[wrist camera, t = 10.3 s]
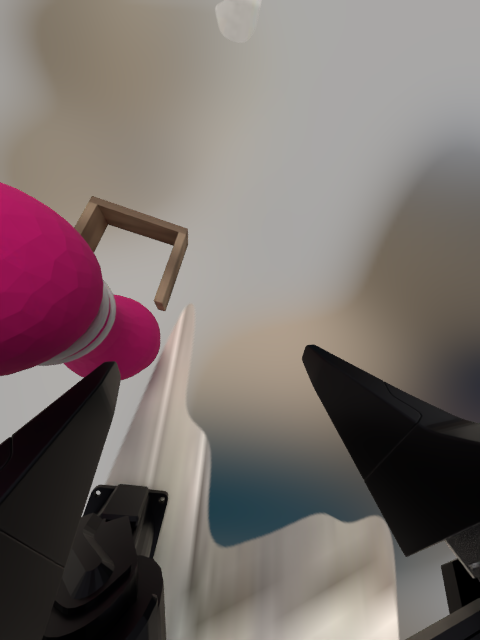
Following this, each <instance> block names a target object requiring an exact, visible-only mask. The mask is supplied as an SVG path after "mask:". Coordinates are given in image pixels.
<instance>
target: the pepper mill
mask: <svg viewBox="0 0 480 640" xmlns="http://www.w3.org/2000/svg"><path fill="white" fill-rule="evenodd" d="M159 348H160V329H159V326H158V323H157V321H156V319H155V317H154V316H153V315H152V313H151V312H150V311H149V310H148V309H147V308H145V307H144V306H143V305H141V304H140V303H139V302H137V301H135V300H133V299H130V298H126V297H123V296H119V295H113V293H112V291H111V290H110V288H109V286H108V285H107V284H106V283H105V281H104V280H103V279H102V274H101V268H100V265H99V263H98V261H97V258H96V256H95V255H94V253H93V251H92V250H91V248H90V247H89V245H88V243H87V242H86V241H85V240H84V238H83V237H82V236H81V235H80V233H79V232H78V231H77V230H76V229H74V228H73V227H72V226H71V225H70V224H69V223H68V222H67V221H66V220H65V219H64V218H62V217H61V216H60V215H59V214H57V213H56V212H55V211H53V210H52V209H51V208H49V207H48V206H46V205H44V204H43V203H41V202H39V201H38V200H36V199H35V198H33V197H31V196H29V195H27V194H26V193H24V192H22V191H20V190H18V189H16V188H13V187H11V186H8V185H6V184H3V183H1V182H0V376H3V375H9V374H13V373H16V372H19V371H22V370H25V369H28V368H32V367H34V366H36V365H39V366H48V365H56V364H62V363H64V364H65V365H66V366H67V367H68V368H69V369H71V370H72V371H73V372H75V373H76V374H78V375H79V376H81V377H86V376H87V375H88V374H90V373H91V372H92V371H93V370H95V369H96V368H97V367H98V366H100V365H101V364H102V363H104V362H108V361H115V362H116V363H117V365H118V369H119V372H120V376H121V380H124V379H127V378H129V377H132V376H134V375H135V374H137V373H139V372H140V371H142V370H143V369H145V368H146V367H148V366H149V365H150V364H151V363H152V362H153V361H154V359H155V358H156V356H157V354H158V352H159Z"/></svg>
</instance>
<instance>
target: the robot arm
mask: <svg viewBox="0 0 480 640" xmlns="http://www.w3.org/2000/svg"><path fill="white" fill-rule="evenodd" d="M302 361H303V363H304V366H305V368H306V371H307V373H308V375H309V378H310V380H311V382H312V385H313V387H314V389H315V391H316V393H317V395H318V396H319V398H320V400H321V402H322V404H323V406H324V407H325V409H326V411H327V413H328V415H329V417H330V418H331V420H332V422H333V424H334V426H335V428H336V430H337V431H338V433H339V435H340V437H341V439H342V441H343V443H344V444H345V446H346V448H347V449H348V452H349V453H350V455H351V457H352V459H353V461H354V463H355V464H356V467H357V468H358V470H359V472H360V474H361V476H362V478H363V479H364V481H365V483H366V485H367V487H368V489H369V491H370V493H371V495H372V496H373V498H374V500H375V502H376V504H377V505H378V507H379V509H380V511H381V513H382V515H383V517H384V519H385V520H386V522H387V524H388V526H389V528H390V530H391V531H392V533H393V535H394V537H395V539H396V541H397V543H398V544H399V546H400V548H401V550H402V551H403V553H404V555H405V556H406V557H407V556H410V555H412V554H415V553H417V552H419V551H422V550H424V549H426V548H429V547H431V546H433V545H435V544H438V543H440V542H442V541H445V542H446V544H447V545H448V546H449V548H450V549H451V550H452V552H453V553H454V554H455V556H456V557H457V558H456V559H454V560H452V561H450V562H448V563H445V564H443V565H441V569H442V575H443V580H444V586H445V591H446V596H447V602H448V607H449V612H450V615H448V616H446V617H445V618H443V619H441V620H439V621H437V622H436V623H434V624H432V625H430V626H429V627H427V628H425V629H423V630H422V631H420V632H418V633H416V634H415V635H413V636H411V637H409V638H407V639H406V640H480V423H475V422H471V421H468V420H465V419H462V418H459V417H457V416H454V415H452V414H450V413H448V412H446V411H444V410H442V409H439V408H437V407H435V406H433V405H431V404H429V403H427V402H424V401H422V400H420V399H418V398H416V397H414V396H412V395H410V394H408V393H406V392H403V391H402V390H400V389H398V388H395V387H394V386H392V385H390V384H388V383H386V382H383V381H382V380H381V379H379V378H377V377H375V376H373V375H371V374H369V373H367V372H365V371H363V370H361V369H359V368H358V367H356V366H354V365H352V364H350V363H348V362H346V361H344V360H342V359H341V358H339V357H337V356H335V355H333V354H331V353H329V352H327V351H325V350H324V349H322V348H320V347H318V346H316V345H307V346H306V347H305V350H304V353H303V356H302ZM120 380H121V376H120V372H119V369H118V365H117V363H116V362H115V361H108V362H104V363H102V364H101V365H100V366H98V367H97V368H96V369H95V370H93V371H92V372H91V373H90V374H88V375H87V376H86V377H84V378H83V379H82V380H81V381H79V382H78V383H77V384H76V385H74V386H73V387H72V388H71V389H70V390H68V391H67V392H66V393H64V394H63V395H62V396H61V397H59V398H58V399H57V400H56V401H54V402H53V403H52V404H51V405H49V406H48V407H47V408H46V409H44V410H43V411H42V412H40V413H39V414H38V415H37V416H35V417H34V418H33V419H32V420H30V421H29V422H28V423H27V424H25V425H24V426H23V427H22V428H21V429H19V430H18V431H17V432H15V433H14V434H13V435H12V437H9V438H8V439H6V440H5V441H4V442H3V443H1V444H0V640H166V627H165V605H164V584H163V577H162V572H161V568H160V566H159V565H158V564H157V563H156V562H155V561H154V559H153V556H154V552H155V548H156V544H157V540H158V536H159V532H160V528H161V525H162V521H163V517H164V513H165V509H166V505H167V501H168V493H167V492H165V491H158V490H149V489H148V487H143V486H134V485H124V484H120V485H118V486H109V485H98V486H96V487H95V488H94V490H93V491H92V493H91V495H90V498H89V501H88V503H87V506H86V509H85V512H84V515H83V517H82V518H81V515H82V513H83V510H84V507H85V503H86V500H87V497H88V494H89V491H90V488H91V485H92V482H93V478H94V475H95V472H96V469H97V466H98V463H99V460H100V456H101V453H102V450H103V447H104V444H105V441H106V438H107V435H108V432H109V429H110V425H111V422H112V418H113V415H114V411H115V406H116V401H117V396H118V390H119V386H120ZM98 490H99V491H100V492H101V494H100V495H97V494H96V491H98ZM161 497H164V498H165V500H163V501H161V500H160V498H161Z"/></svg>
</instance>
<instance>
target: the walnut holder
mask: <svg viewBox="0 0 480 640" xmlns="http://www.w3.org/2000/svg"><path fill="white" fill-rule="evenodd" d="M108 224H109V225H112V226H115V227H118V228H121V229H124V230H127V231H130V232H133V233H137V234H139V235H143V236H146V237H149V238H152V239H155V240H158V241H161V242H164V243H167V244H170V245H173V246H174V247H173V249H172V252H171V255H170V258H169V261H168V263H167V266H166V269H165V271H164V274H163V277H162V279H161V282H160V285H159V288H158V290H157V293H156V296H155V299H154V302H155V304H156V306H157V308H158V309H159V310H163V311H165V310H166V307H167V305H168V302H169V299H170V296H171V293H172V290H173V287H174V284H175V281H176V278H177V275H178V272H179V269H180V266H181V263H182V260H183V258H184V255H185V251H186V248H187V246H188V229H187V228H183V227H181V226H178V225H175V224H172V223H169V222H166V221H163V220H160V219H157V218H155V217H152V216H149V215H146V214H143V213H140V212H137V211H134V210H131V209H128V208H126V207H123V206H120V205H117V204H114V203H111V202H108V201H105V200H102V199H99V198H96V197H94V196H92V197H91V199H90V201H89V202H88V204H87V206H86V208H85V209H84V211H83V213H82V215H81V217H80V218H79V220H78V222H77V224H76V225H75V227H74V229H76V230H77V231H78V232H79V233H80V235H81V236H82V237H83V238H84V240H85V241H86V242H87V243H88V245H89V247H90V248H91V250H92V251H93V253H94V251H95V249H96V247H97V245H98V243H99V241H100V239H101V237H102V235H103V233H104V231H105V229H106V227H107V225H108Z"/></svg>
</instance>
